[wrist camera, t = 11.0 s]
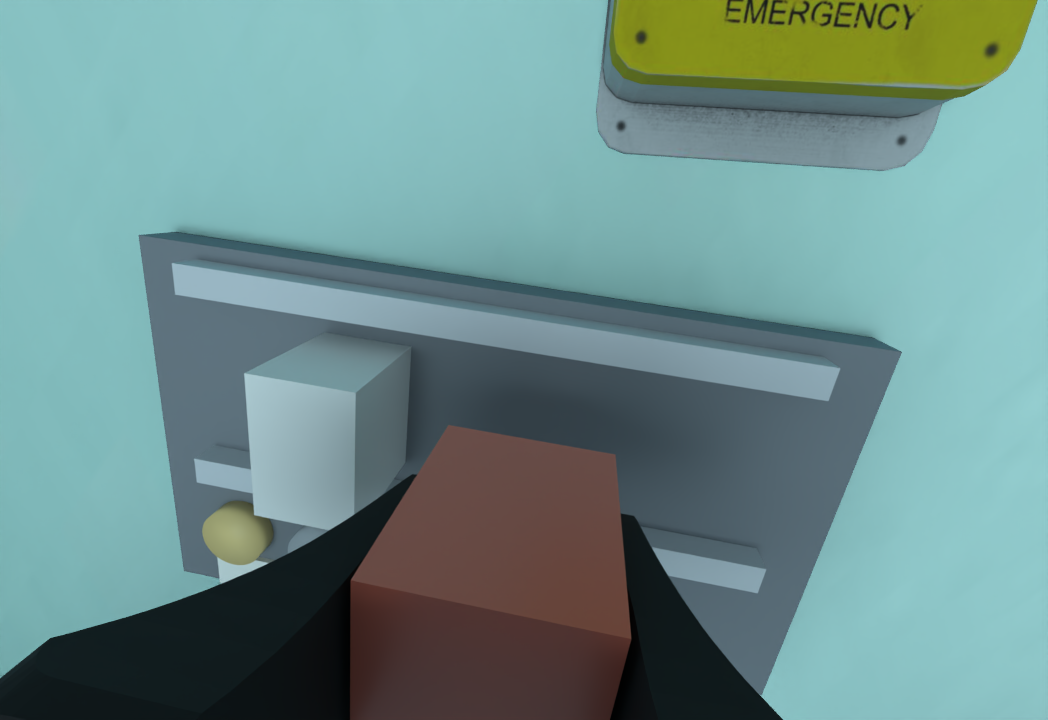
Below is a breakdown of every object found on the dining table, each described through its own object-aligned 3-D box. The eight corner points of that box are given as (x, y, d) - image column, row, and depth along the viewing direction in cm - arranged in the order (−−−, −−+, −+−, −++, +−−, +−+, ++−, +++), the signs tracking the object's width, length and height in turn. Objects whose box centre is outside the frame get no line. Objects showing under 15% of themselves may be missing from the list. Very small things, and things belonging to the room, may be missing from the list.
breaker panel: (749, 659, 20) (770, 721, 18) (210, 546, 22) (164, 588, 20) (873, 337, 15) (924, 363, 13) (175, 231, 17) (110, 237, 15)
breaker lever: (405, 462, 17) (353, 535, 14) (326, 447, 18) (254, 515, 14) (411, 346, 16) (355, 392, 12) (324, 332, 16) (244, 372, 12)
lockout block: (586, 587, 13) (583, 820, 8) (437, 557, 13) (350, 763, 8) (615, 454, 11) (631, 638, 7) (448, 425, 12) (350, 579, 7)
